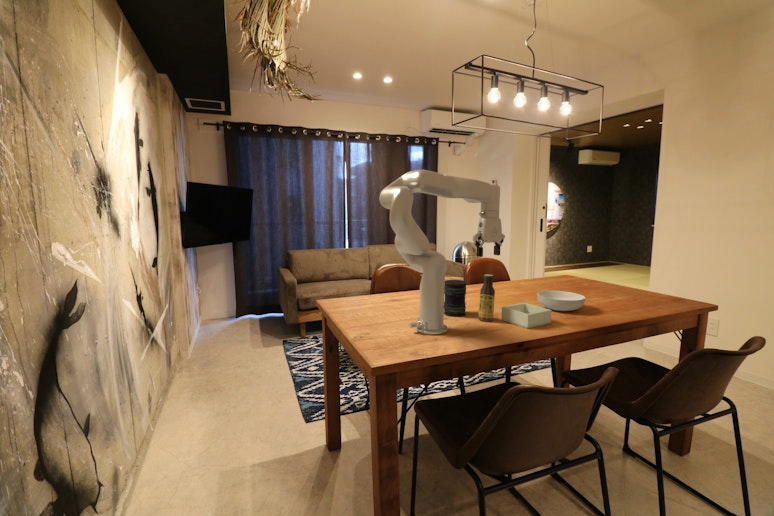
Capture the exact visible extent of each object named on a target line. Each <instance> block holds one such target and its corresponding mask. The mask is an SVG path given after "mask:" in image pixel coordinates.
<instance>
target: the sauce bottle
mask: <svg viewBox="0 0 774 516" xmlns="http://www.w3.org/2000/svg"><path fill="white" fill-rule="evenodd" d="M494 278H495V277H494V275H493V274H490V273H489V274H488V273H487V274H486V273H485V274H483V284H482V286H481V288H480V291H479V293H480V294H479V301H478V320H479V321H481V322H491V321H493V319H494V311H495V310H494V309H495V299H496V298H495V296H496V291H495V288H494V286H493V285H494Z"/></svg>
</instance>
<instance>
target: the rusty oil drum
mask: <svg viewBox="0 0 774 516" xmlns="http://www.w3.org/2000/svg"><path fill="white" fill-rule="evenodd" d="M466 294H467V281H465V280H463V279H462V280H460V279H447V280H444V316H446V317H451V318H461V317H465V316H466V310H467V308H466V305H467V304H466Z"/></svg>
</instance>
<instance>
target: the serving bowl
mask: <svg viewBox="0 0 774 516" xmlns="http://www.w3.org/2000/svg"><path fill="white" fill-rule="evenodd" d="M536 296H537V297H536V298H537V300H538V303H540V305H542V307H544V308H546V309H550V310H552V311H556V312H570V311H575V310H579V309H580V308H582V307H583V305H584V304H585V301H586V296H584V295H582V294H579V293H575V292H571V291H563V290H541V291H538V292H537V293H536Z"/></svg>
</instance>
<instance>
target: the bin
mask: <svg viewBox="0 0 774 516" xmlns="http://www.w3.org/2000/svg"><path fill="white" fill-rule="evenodd" d="M552 311H553V310H552V309H550V308H547V307H543V306H542V307H541V306H539V305H535V304H531V303H527V302H522V303H521V302H520V303H515V304H509V305H504V306H501V318H500V319H501V321H504V322H507V323H509V324H512V325H515V326H518V327H521V328H523V327H524V329H526V328H527V329H526V330H529V329H532V328H533V327H534V328H537V326H538V327H543V326H545V325H546V324H547V325H550V324H552Z"/></svg>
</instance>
